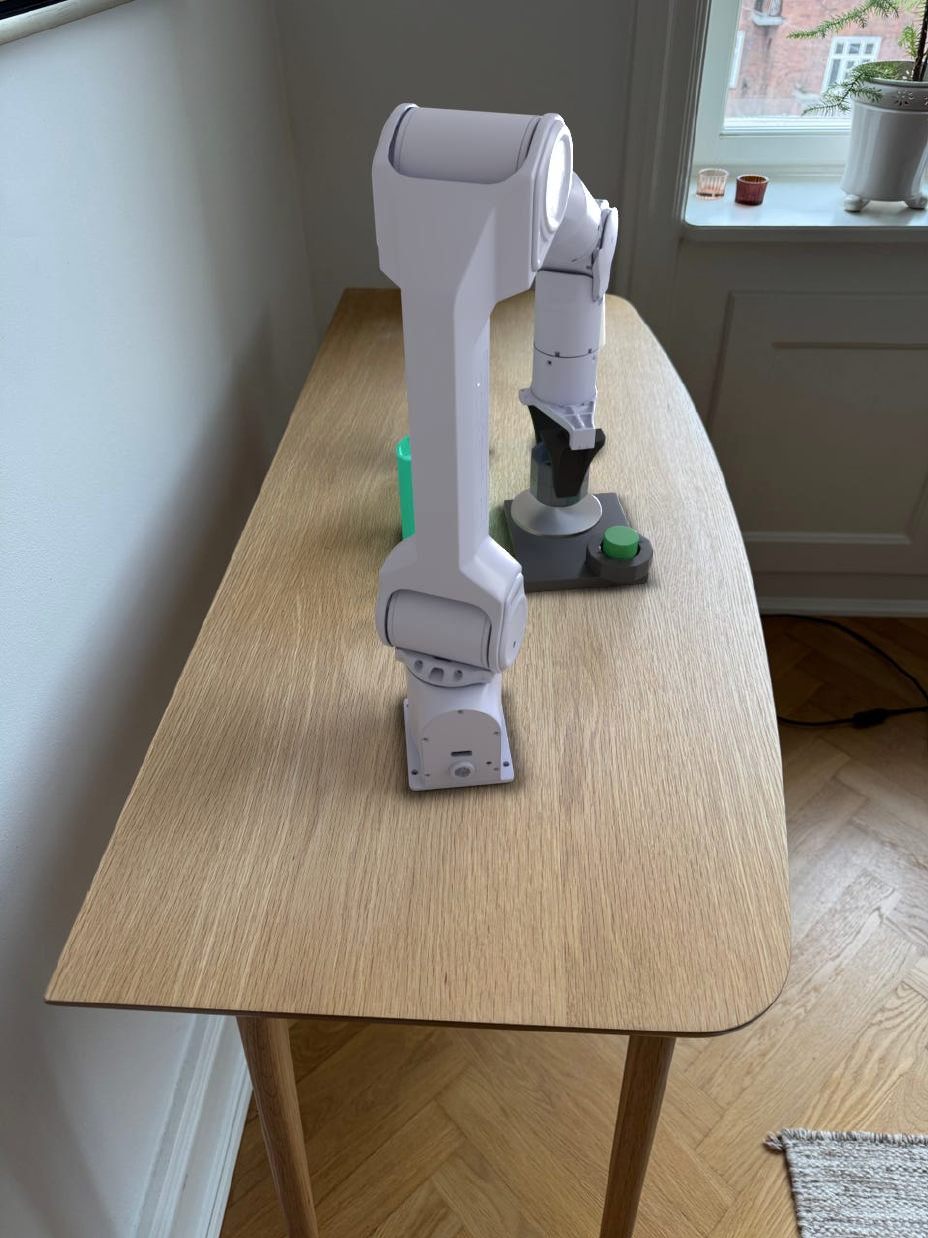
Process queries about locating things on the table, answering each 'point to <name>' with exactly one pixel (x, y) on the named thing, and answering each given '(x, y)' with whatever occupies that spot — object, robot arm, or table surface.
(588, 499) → the scale pan
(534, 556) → the scale
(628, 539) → the tare button
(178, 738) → the table surface
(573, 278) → the robot arm
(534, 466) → the faceted grey cup
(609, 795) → the table surface
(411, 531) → the candle
